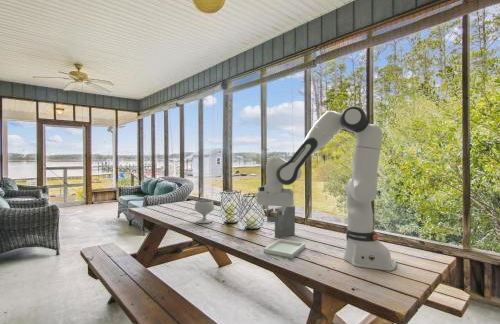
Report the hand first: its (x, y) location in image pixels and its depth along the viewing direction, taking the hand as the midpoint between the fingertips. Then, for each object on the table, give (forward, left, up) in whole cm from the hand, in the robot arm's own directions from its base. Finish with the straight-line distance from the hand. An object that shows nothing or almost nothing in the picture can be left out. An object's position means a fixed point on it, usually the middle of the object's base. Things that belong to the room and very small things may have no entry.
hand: (275, 214), depth 146 cm
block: (0, 0, -3) cm, 3 cm away
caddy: (0, 0, -4) cm, 4 cm away
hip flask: (+5, -23, -18) cm, 30 cm away
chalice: (+69, -24, -18) cm, 75 cm away
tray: (-6, +1, -18) cm, 19 cm away
